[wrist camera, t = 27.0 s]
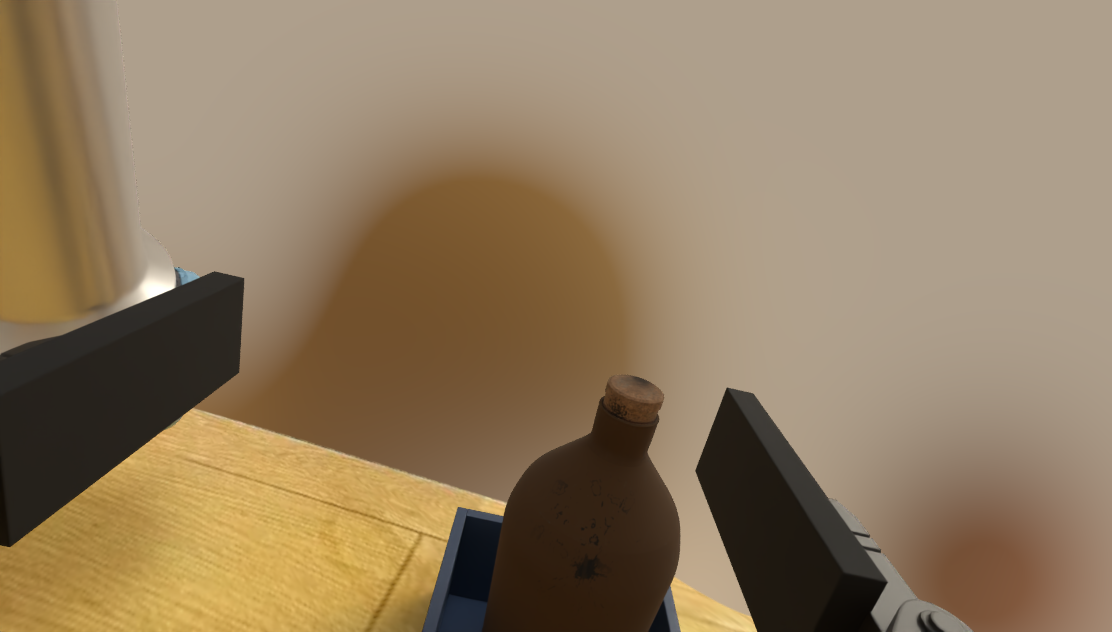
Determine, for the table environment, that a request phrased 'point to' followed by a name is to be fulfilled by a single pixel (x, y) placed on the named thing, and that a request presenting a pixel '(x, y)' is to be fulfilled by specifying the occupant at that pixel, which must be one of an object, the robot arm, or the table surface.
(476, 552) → the blue-grey hollow square box
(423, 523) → the table surface
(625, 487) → the brown bottle
